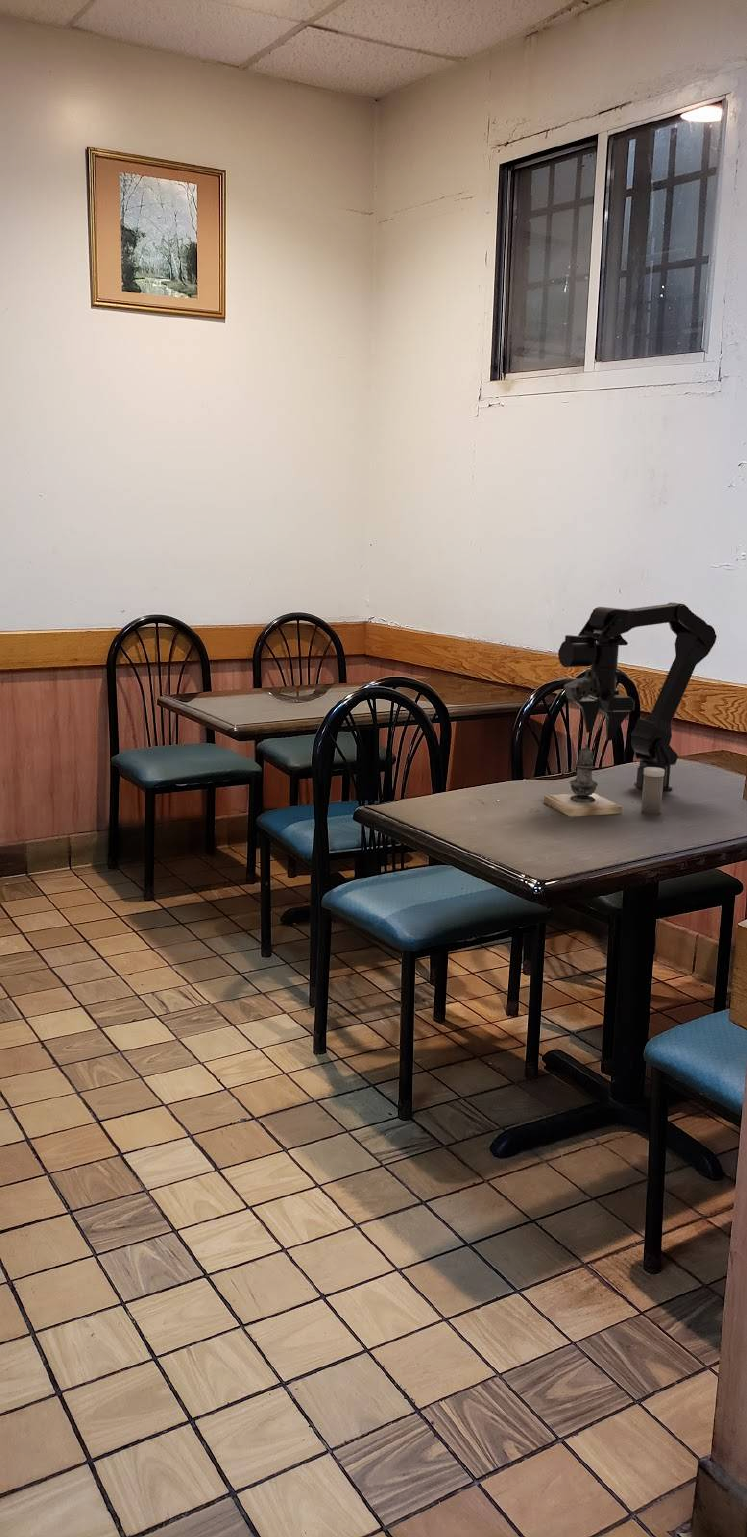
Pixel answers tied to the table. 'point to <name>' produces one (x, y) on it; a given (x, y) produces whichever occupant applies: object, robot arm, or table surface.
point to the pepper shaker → (652, 790)
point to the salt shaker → (584, 778)
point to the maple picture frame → (582, 805)
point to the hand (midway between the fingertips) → (598, 736)
